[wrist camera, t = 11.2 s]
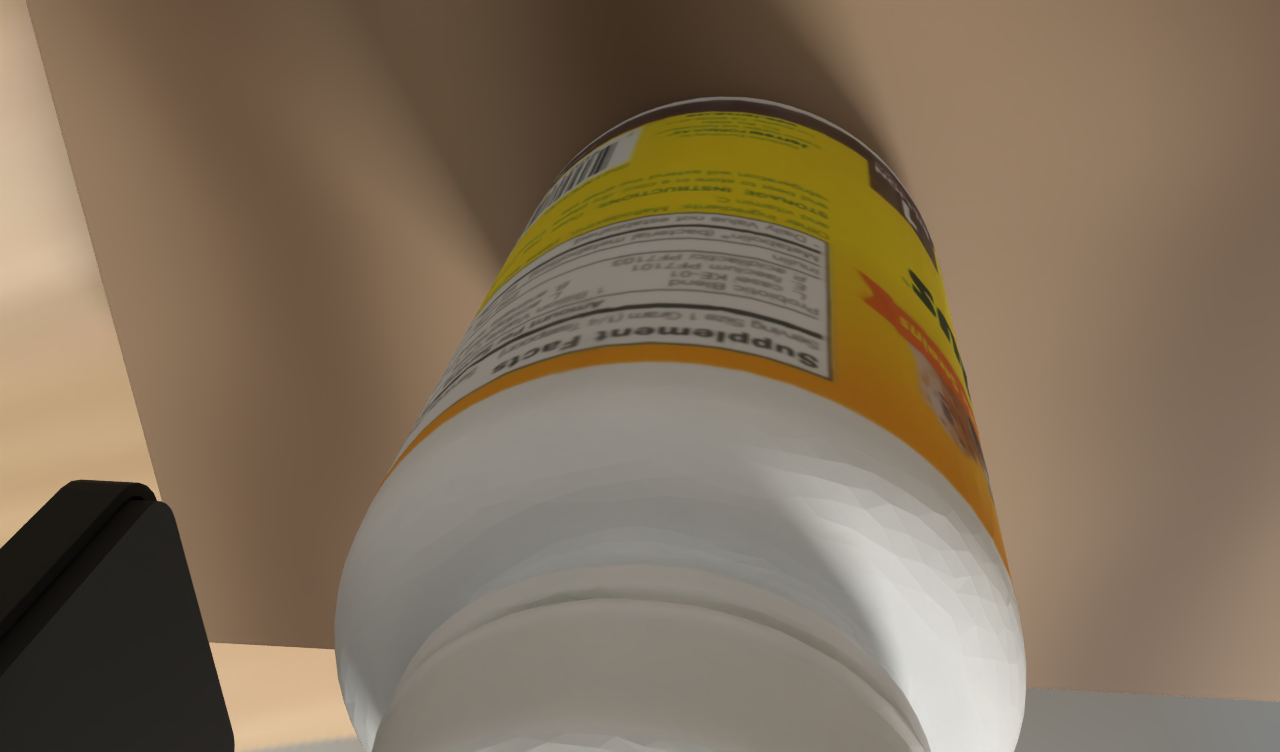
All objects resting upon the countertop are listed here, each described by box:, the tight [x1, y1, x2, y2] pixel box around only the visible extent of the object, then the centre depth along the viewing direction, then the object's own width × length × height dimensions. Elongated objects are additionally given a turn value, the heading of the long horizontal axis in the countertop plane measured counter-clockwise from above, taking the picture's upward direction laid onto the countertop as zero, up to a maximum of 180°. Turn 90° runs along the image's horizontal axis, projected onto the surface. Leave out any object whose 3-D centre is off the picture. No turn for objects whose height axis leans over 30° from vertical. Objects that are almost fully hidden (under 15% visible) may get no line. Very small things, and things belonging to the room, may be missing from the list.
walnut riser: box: [26, 0, 1280, 702], centre depth 19 cm, size 18×14×5 cm
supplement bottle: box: [334, 97, 1026, 752], centre depth 12 cm, size 6×6×10 cm
